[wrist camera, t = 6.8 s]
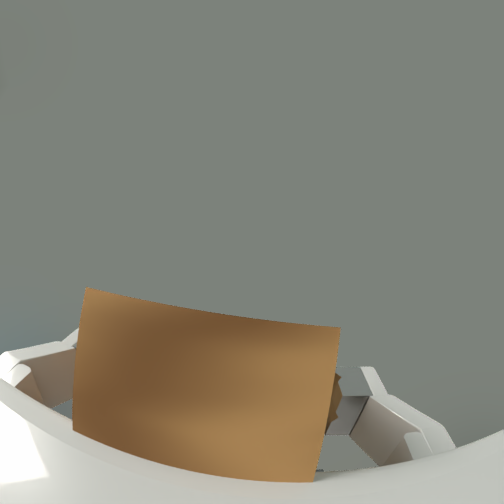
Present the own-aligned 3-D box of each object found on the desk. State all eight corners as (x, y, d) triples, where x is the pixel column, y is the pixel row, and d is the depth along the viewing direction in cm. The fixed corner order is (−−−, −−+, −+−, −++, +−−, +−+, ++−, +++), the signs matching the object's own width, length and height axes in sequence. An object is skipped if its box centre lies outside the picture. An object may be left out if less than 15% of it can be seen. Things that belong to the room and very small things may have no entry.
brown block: (77, 488, 3) (86, 287, 4) (211, 372, 22) (217, 326, 23) (295, 537, 3) (339, 328, 4) (258, 378, 22) (264, 333, 23)
